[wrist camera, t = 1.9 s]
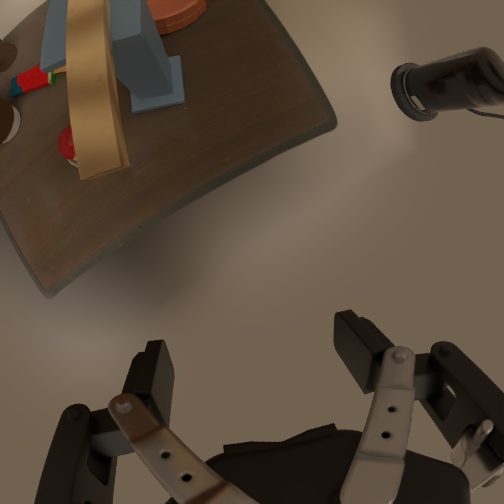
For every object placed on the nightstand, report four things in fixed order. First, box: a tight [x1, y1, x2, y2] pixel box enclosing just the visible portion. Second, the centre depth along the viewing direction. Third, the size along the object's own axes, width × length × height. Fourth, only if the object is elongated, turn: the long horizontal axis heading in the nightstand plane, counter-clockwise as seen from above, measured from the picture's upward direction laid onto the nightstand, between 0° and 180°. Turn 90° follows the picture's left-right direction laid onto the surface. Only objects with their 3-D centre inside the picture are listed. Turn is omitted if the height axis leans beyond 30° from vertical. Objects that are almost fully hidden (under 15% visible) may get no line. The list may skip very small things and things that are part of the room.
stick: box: [66, 0, 130, 180], centre depth 10 cm, size 18×4×2 cm, turn 11°
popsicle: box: [10, 65, 66, 98], centre depth 30 cm, size 4×2×15 cm
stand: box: [40, 0, 185, 114], centre depth 23 cm, size 12×8×28 cm, turn 7°
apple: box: [58, 125, 78, 167], centre depth 33 cm, size 8×8×6 cm
